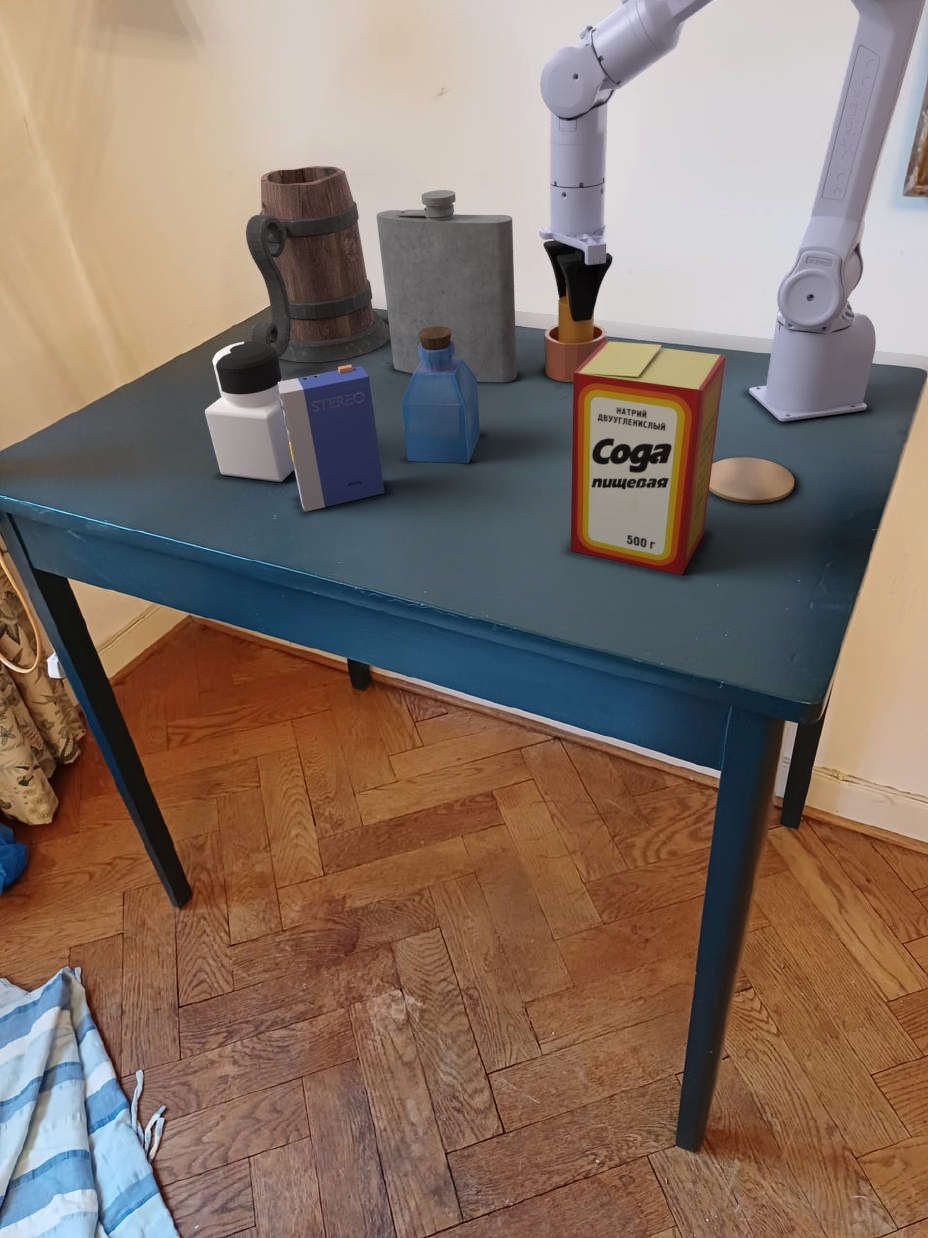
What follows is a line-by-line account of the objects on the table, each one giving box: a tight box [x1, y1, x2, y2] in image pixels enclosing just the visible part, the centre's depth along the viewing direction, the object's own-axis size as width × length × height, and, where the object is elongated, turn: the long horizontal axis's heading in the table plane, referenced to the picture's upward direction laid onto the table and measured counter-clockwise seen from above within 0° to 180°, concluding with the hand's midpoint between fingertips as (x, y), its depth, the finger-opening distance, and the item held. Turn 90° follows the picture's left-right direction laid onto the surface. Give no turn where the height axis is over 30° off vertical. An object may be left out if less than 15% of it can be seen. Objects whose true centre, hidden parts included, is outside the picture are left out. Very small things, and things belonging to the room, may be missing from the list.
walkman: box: [278, 364, 386, 512], centre depth 80 cm, size 8×3×12 cm, turn 110°
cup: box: [543, 323, 608, 383], centre depth 103 cm, size 7×7×4 cm
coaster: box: [709, 456, 795, 505], centre depth 81 cm, size 8×8×1 cm
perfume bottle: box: [401, 326, 481, 464], centre depth 87 cm, size 6×6×12 cm
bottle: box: [557, 281, 595, 343], centre depth 100 cm, size 4×4×9 cm
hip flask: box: [376, 189, 518, 383], centre depth 100 cm, size 16×4×20 cm, turn 66°
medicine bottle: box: [204, 341, 295, 483], centre depth 87 cm, size 7×7×12 cm
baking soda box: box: [570, 340, 727, 576], centre depth 70 cm, size 10×6×16 cm
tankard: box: [245, 165, 391, 363], centre depth 109 cm, size 24×17×20 cm
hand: (576, 312), depth 100 cm, fingers closed on bottle, 4 cm apart
